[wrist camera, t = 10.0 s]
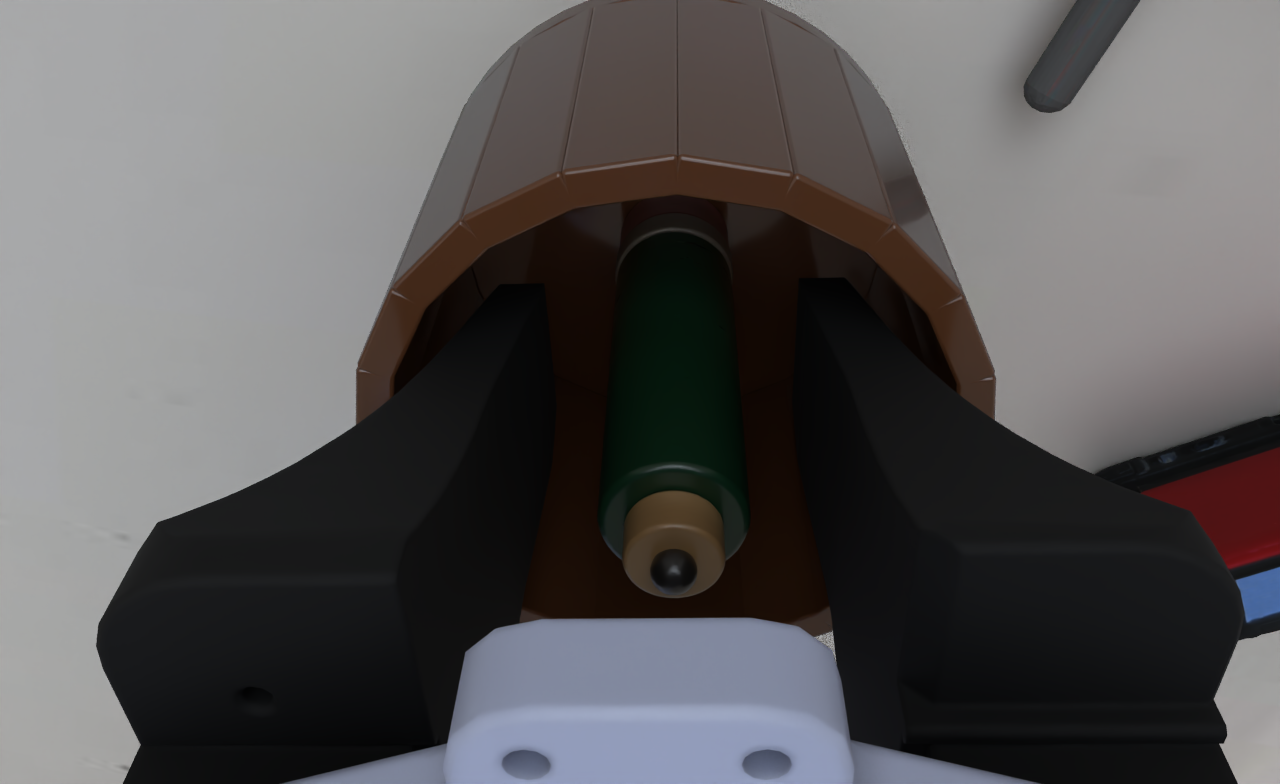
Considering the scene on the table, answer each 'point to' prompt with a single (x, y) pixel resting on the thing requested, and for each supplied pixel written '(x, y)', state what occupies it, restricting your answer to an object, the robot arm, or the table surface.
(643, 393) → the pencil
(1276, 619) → the handheld console
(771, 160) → the pencil cup
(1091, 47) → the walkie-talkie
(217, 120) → the table surface
